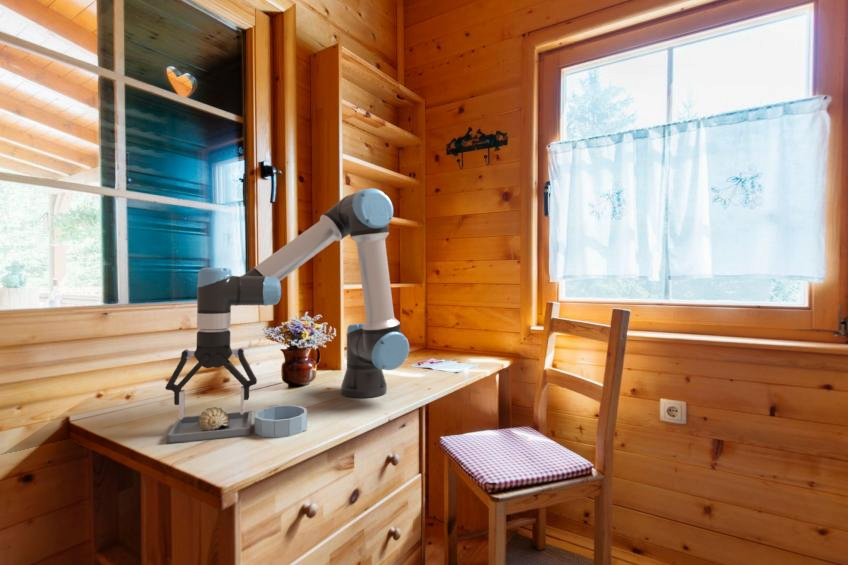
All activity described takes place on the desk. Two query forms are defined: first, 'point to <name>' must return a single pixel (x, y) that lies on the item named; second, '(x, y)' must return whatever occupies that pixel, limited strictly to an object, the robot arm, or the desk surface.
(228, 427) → the tray
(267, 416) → the bowl
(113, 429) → the desk surface
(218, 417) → the seashell
